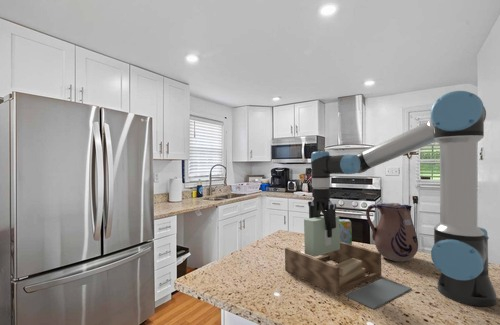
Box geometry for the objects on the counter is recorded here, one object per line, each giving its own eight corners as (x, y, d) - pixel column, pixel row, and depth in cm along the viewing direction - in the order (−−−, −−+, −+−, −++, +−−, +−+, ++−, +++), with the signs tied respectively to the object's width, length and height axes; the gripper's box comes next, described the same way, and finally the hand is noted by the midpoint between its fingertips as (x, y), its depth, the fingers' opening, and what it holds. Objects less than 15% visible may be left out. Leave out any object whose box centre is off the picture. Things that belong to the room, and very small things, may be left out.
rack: (381, 275, 102) (381, 252, 103) (336, 295, 88) (336, 268, 88) (328, 256, 124) (328, 237, 124) (285, 269, 109) (285, 248, 110)
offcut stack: (365, 276, 102) (365, 261, 102) (339, 287, 93) (338, 270, 93) (354, 272, 106) (354, 257, 106) (328, 282, 97) (327, 266, 98)
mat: (411, 289, 91) (411, 288, 91) (373, 309, 79) (373, 308, 79) (383, 279, 100) (383, 277, 100) (345, 296, 87) (345, 294, 87)
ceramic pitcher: (426, 266, 111) (425, 207, 112) (373, 264, 115) (372, 207, 115) (408, 253, 129) (407, 202, 129) (362, 251, 132) (362, 201, 132)
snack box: (349, 247, 138) (348, 219, 139) (352, 251, 133) (351, 221, 133) (308, 246, 140) (308, 218, 141) (309, 250, 135) (309, 220, 135)
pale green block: (340, 249, 112) (339, 216, 113) (314, 256, 103) (313, 221, 104) (330, 246, 116) (329, 214, 117) (304, 253, 108) (303, 219, 108)
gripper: (344, 188, 105) (346, 246, 104) (311, 186, 120) (312, 237, 120) (332, 189, 101) (334, 250, 100) (299, 187, 116) (300, 240, 115)
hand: (322, 243), depth 110 cm, fingers closed on pale green block, 5 cm apart
